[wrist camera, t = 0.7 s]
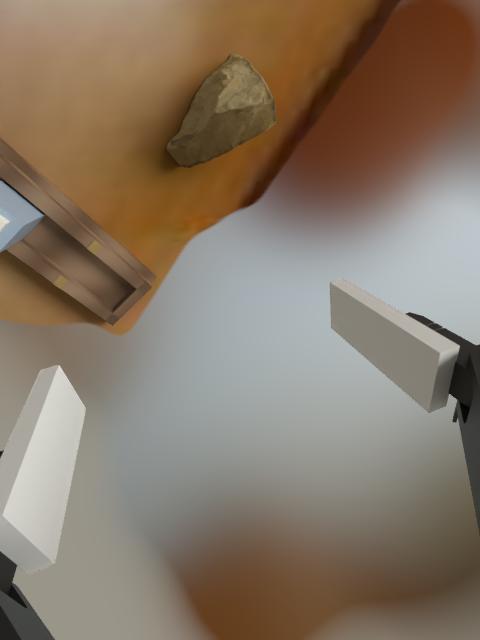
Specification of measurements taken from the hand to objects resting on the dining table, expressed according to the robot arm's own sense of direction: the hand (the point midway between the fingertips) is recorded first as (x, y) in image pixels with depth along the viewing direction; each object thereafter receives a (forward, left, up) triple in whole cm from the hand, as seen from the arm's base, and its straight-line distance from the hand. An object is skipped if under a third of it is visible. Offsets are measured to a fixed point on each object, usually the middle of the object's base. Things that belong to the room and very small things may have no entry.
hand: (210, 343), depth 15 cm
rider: (-12, -8, -23) cm, 28 cm away
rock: (-6, +12, -25) cm, 28 cm away
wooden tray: (-8, -8, -25) cm, 27 cm away
